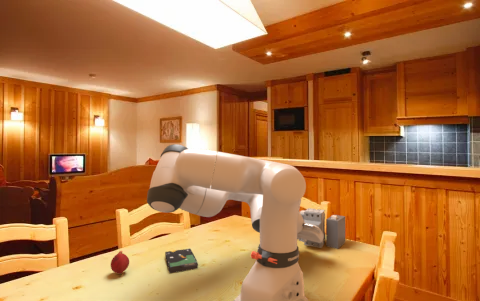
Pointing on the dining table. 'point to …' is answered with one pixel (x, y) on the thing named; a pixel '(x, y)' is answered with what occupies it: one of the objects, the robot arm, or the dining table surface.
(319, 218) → the circuit breaker
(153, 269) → the dining table surface
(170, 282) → the dining table surface
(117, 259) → the onion
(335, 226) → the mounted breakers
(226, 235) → the dining table surface
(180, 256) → the disk drive
